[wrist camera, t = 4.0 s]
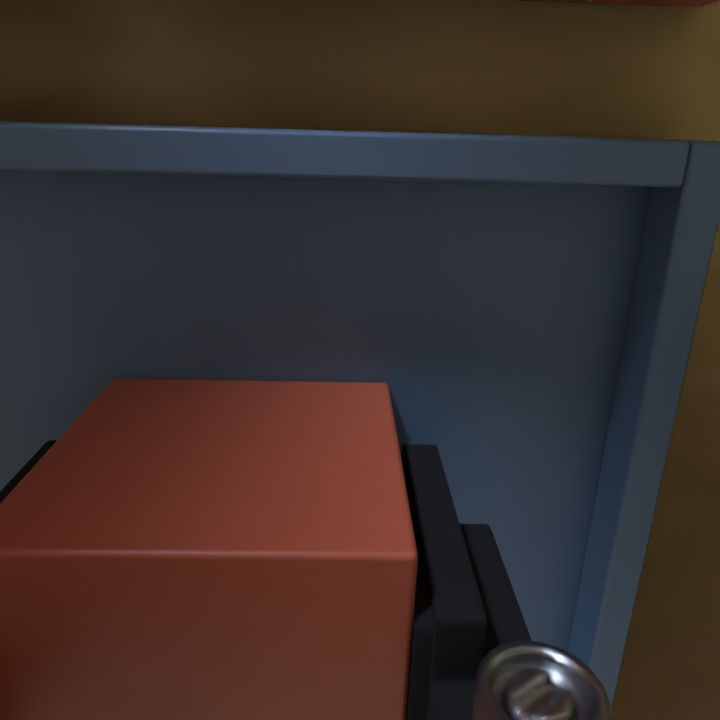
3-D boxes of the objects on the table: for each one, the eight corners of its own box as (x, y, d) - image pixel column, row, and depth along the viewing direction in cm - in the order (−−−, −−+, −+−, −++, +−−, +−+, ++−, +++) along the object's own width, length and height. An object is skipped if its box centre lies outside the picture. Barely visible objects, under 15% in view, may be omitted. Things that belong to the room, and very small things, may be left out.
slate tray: (-41, 724, 14) (-89, 798, 12) (-201, 114, 9) (-305, 113, 8) (567, 723, 14) (594, 794, 13) (678, 138, 10) (738, 141, 8)
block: (138, 600, 12) (25, 861, 8) (112, 376, 10) (-49, 552, 6) (379, 601, 12) (398, 858, 8) (388, 380, 10) (419, 554, 6)
